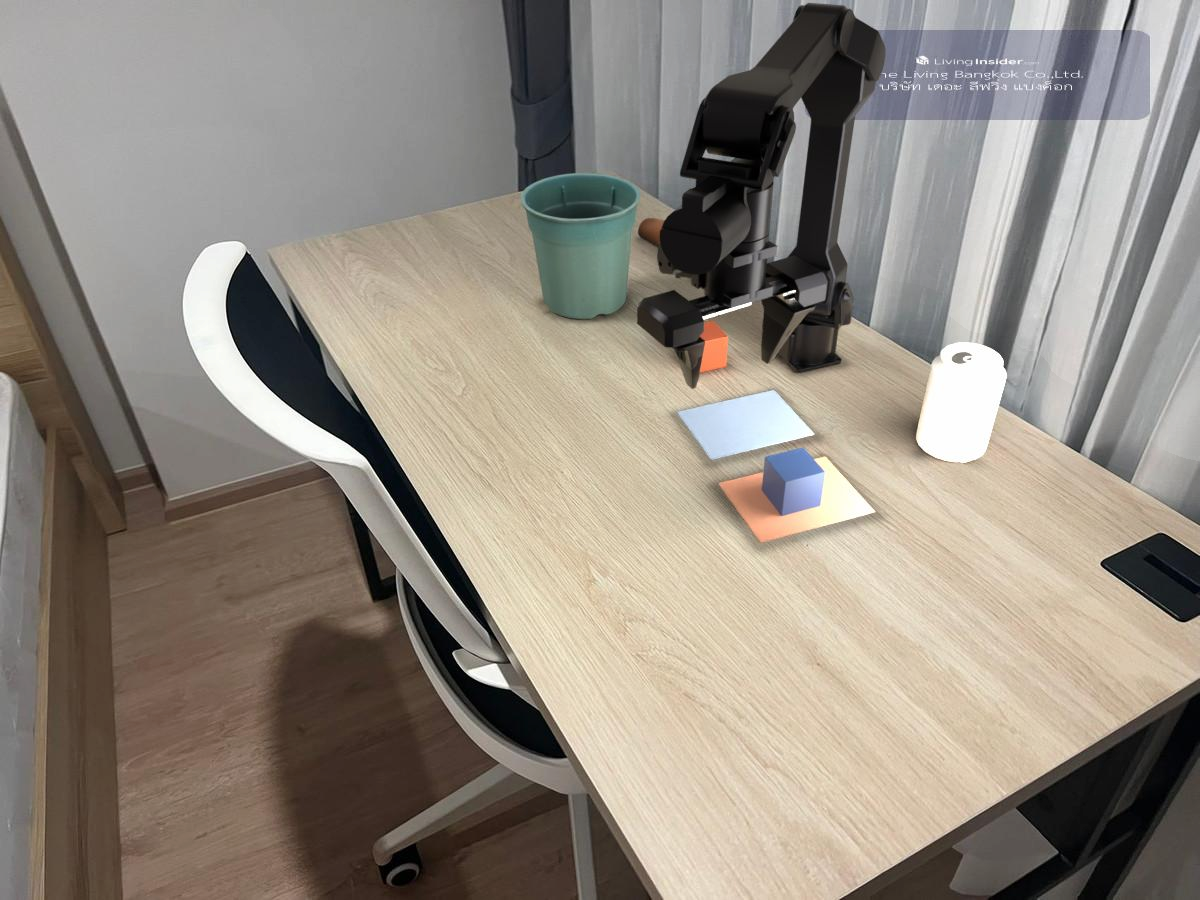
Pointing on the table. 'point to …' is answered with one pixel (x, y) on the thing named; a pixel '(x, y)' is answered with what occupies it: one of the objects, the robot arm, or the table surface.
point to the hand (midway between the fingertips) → (729, 374)
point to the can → (961, 402)
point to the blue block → (793, 481)
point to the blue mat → (744, 424)
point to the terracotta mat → (770, 525)
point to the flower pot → (582, 240)
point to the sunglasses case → (651, 230)
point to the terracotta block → (714, 347)
